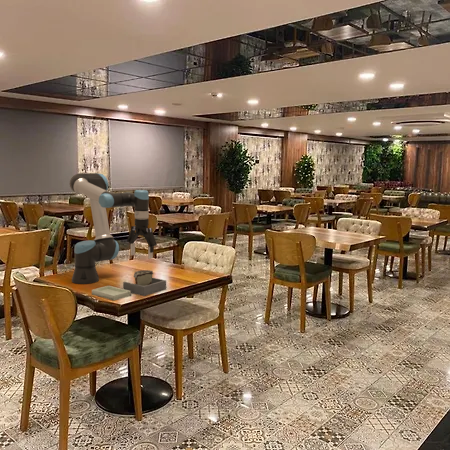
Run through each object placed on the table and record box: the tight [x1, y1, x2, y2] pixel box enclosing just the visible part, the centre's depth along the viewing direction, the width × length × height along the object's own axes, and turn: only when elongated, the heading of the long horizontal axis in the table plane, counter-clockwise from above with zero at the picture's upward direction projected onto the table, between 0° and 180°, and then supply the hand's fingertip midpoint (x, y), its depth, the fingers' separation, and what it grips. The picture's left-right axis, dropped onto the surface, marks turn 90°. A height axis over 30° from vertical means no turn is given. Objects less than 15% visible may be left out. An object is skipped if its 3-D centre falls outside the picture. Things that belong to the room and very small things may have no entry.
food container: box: [133, 269, 154, 286], centre depth 243 cm, size 12×6×10 cm, turn 141°
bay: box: [122, 277, 167, 297], centre depth 242 cm, size 16×17×5 cm
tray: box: [91, 285, 132, 301], centre depth 231 cm, size 17×11×2 cm, turn 56°
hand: (141, 256), depth 242 cm, fingers open, 13 cm apart
